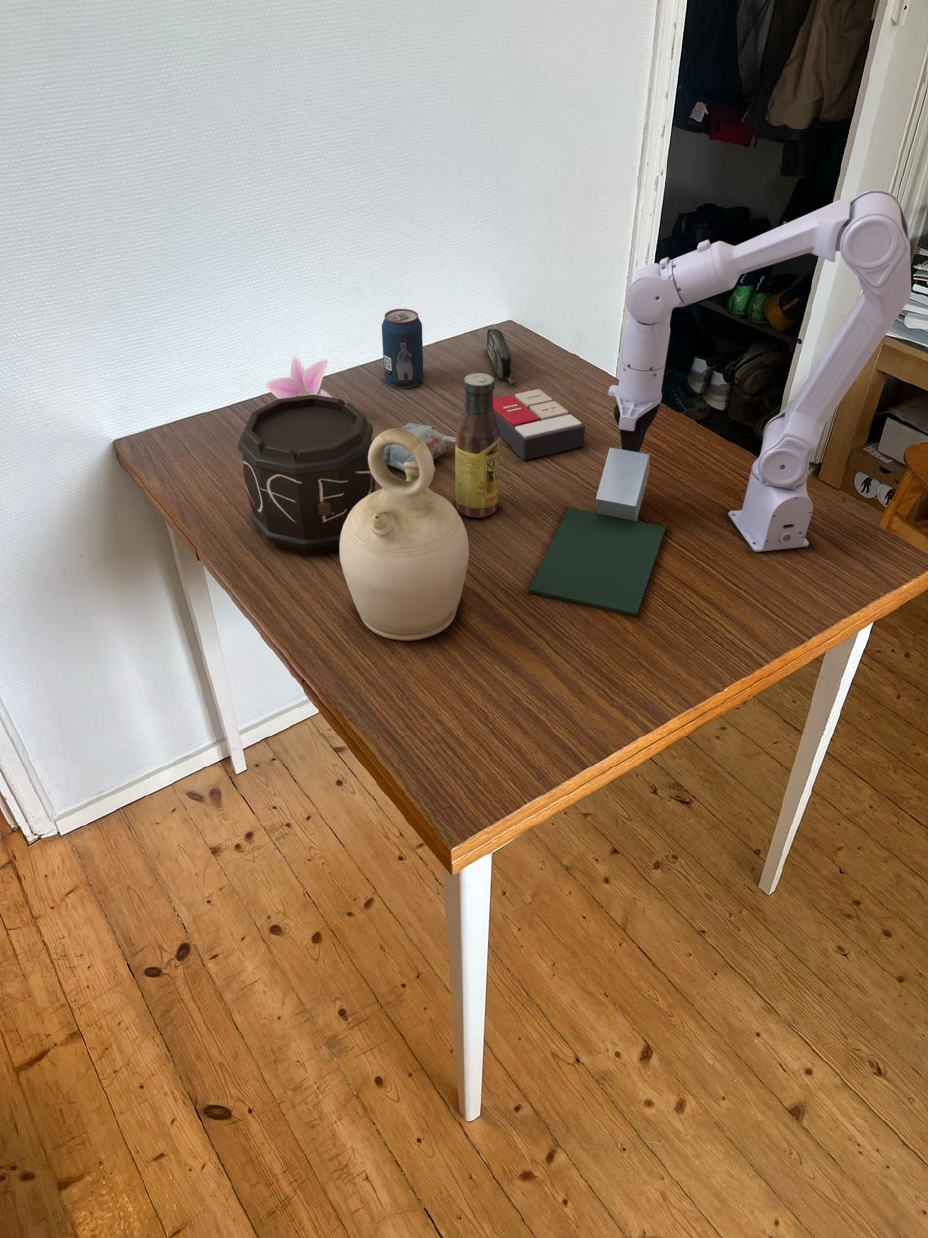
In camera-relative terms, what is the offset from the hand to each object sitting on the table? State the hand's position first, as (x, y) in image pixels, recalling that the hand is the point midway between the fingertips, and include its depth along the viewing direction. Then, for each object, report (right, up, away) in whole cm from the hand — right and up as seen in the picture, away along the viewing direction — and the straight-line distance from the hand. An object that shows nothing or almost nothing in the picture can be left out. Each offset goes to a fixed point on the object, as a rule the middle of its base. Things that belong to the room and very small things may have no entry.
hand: (630, 452), depth 130 cm
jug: (-30, -22, -14) cm, 40 cm away
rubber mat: (-5, -15, -6) cm, 17 cm away
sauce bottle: (-22, -7, +4) cm, 23 cm away
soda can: (-34, +19, +35) cm, 52 cm away
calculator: (-12, +7, +21) cm, 25 cm away
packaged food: (-31, +1, +13) cm, 34 cm away
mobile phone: (-17, +22, +39) cm, 48 cm away
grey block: (-1, -4, 0) cm, 5 cm away
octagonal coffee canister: (-44, -10, +1) cm, 45 cm away
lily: (-50, +10, +24) cm, 56 cm away
